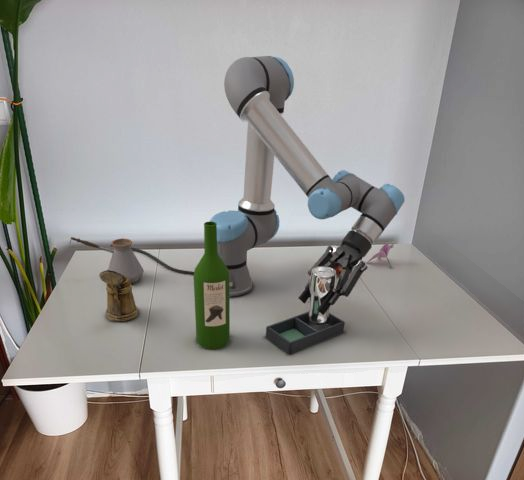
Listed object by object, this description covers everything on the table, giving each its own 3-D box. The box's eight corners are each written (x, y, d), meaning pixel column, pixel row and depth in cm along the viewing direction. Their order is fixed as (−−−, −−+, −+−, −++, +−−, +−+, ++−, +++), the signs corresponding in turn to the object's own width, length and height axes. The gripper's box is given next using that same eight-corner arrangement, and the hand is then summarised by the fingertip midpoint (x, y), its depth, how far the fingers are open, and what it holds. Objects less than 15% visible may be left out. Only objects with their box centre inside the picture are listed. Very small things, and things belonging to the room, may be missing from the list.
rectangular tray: (265, 337, 137) (266, 326, 135) (318, 317, 147) (320, 307, 145) (289, 354, 130) (290, 343, 128) (343, 332, 141) (344, 321, 139)
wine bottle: (202, 352, 130) (197, 231, 112) (192, 335, 137) (186, 219, 119) (234, 345, 133) (234, 227, 115) (223, 329, 140) (221, 215, 122)
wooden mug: (99, 330, 137) (89, 270, 127) (110, 306, 148) (101, 249, 138) (132, 330, 138) (124, 270, 128) (140, 307, 149) (134, 250, 139)
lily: (395, 261, 187) (388, 237, 185) (410, 261, 176) (402, 235, 173) (367, 274, 186) (359, 249, 184) (380, 274, 174) (371, 248, 172)
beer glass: (329, 328, 136) (336, 278, 128) (304, 324, 137) (309, 275, 129) (331, 316, 142) (338, 267, 134) (307, 312, 143) (312, 264, 135)
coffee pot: (144, 271, 170) (140, 228, 162) (143, 286, 160) (138, 241, 152) (79, 273, 167) (71, 230, 158) (74, 289, 157) (65, 244, 149)
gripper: (394, 257, 131) (342, 328, 131) (341, 233, 144) (293, 298, 144) (384, 242, 125) (330, 316, 126) (329, 219, 138) (280, 286, 138)
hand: (310, 306), depth 135 cm, fingers closed on beer glass, 7 cm apart
